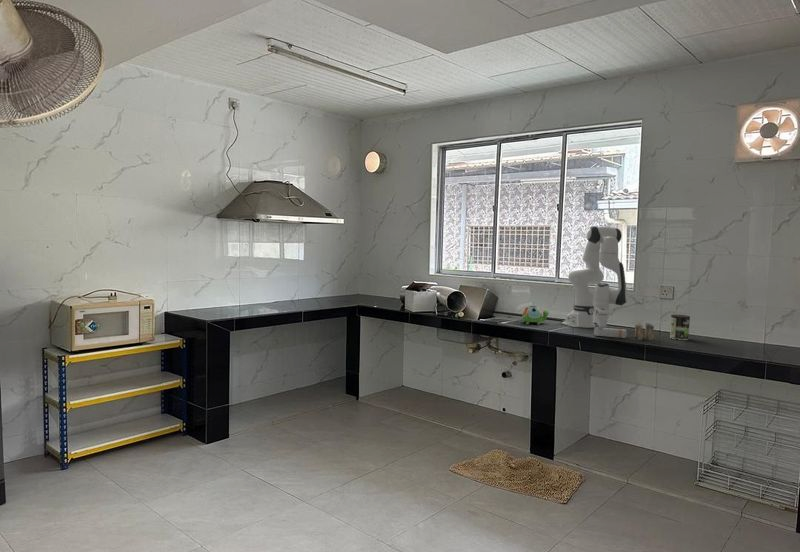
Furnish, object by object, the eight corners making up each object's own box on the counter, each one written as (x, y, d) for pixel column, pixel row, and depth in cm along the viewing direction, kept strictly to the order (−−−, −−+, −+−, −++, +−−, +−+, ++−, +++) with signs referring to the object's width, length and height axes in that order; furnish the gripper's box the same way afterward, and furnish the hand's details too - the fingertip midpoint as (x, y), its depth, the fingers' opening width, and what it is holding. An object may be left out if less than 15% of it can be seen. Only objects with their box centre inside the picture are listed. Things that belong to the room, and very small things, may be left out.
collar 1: (638, 339, 329) (639, 325, 329) (634, 336, 340) (635, 322, 339) (642, 339, 329) (643, 325, 328) (638, 336, 340) (638, 322, 339)
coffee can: (692, 339, 334) (693, 316, 333) (682, 340, 329) (684, 317, 328) (675, 336, 343) (677, 313, 342) (666, 338, 337) (667, 315, 336)
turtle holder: (551, 325, 377) (551, 307, 376) (524, 324, 376) (525, 307, 375) (545, 322, 389) (546, 305, 388) (520, 321, 388) (520, 304, 387)
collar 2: (649, 340, 328) (650, 326, 328) (645, 337, 339) (645, 323, 338) (653, 340, 328) (653, 326, 327) (648, 337, 339) (649, 323, 338)
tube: (594, 335, 337) (595, 328, 337) (593, 334, 342) (594, 326, 341) (626, 338, 334) (626, 330, 333) (624, 336, 338) (625, 329, 338)
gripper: (593, 307, 348) (592, 329, 349) (598, 311, 328) (597, 334, 329) (603, 307, 347) (602, 329, 348) (609, 312, 327) (608, 335, 328)
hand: (600, 332), depth 339 cm, fingers closed on tube, 4 cm apart
